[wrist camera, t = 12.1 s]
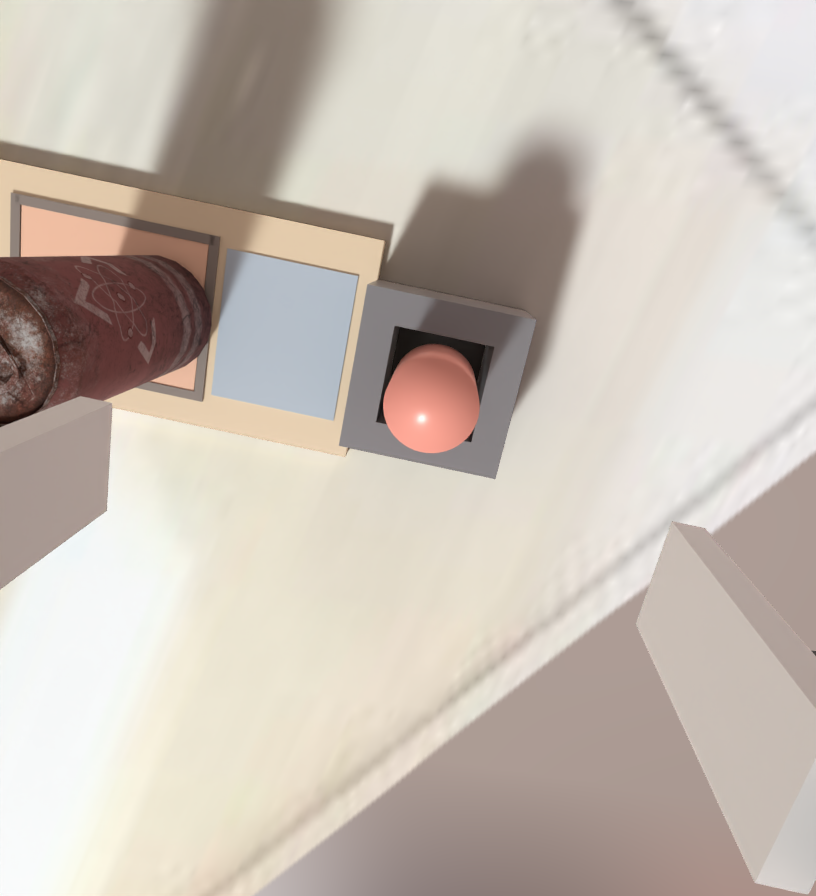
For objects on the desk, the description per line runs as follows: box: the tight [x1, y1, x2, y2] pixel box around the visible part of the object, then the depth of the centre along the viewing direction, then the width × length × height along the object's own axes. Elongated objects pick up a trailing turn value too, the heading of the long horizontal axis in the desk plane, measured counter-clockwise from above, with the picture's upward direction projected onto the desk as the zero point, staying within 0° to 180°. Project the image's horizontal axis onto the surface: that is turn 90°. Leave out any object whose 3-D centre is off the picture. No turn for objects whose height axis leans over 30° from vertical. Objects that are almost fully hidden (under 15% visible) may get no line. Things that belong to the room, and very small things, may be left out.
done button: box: [383, 344, 480, 453], centre depth 29 cm, size 4×4×4 cm
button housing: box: [339, 279, 537, 479], centre depth 33 cm, size 8×8×5 cm
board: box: [0, 159, 386, 457], centre depth 35 cm, size 22×12×1 cm, turn 79°
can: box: [0, 255, 212, 427], centre depth 28 cm, size 6×6×14 cm
